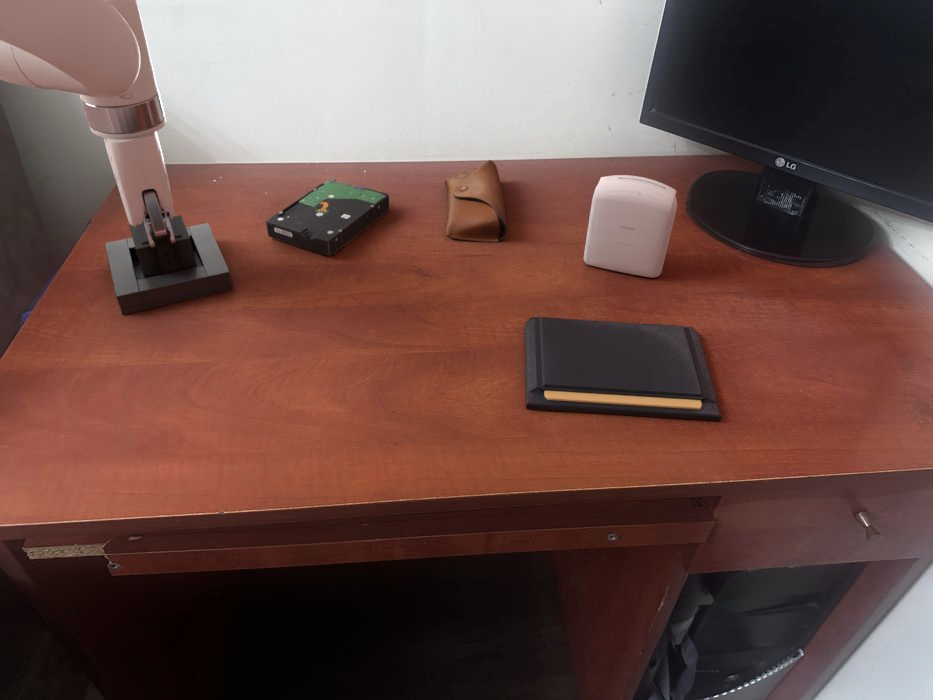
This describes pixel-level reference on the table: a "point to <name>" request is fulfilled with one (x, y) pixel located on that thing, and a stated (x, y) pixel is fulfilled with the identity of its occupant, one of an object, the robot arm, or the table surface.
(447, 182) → the sunglasses case
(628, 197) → the photo printer
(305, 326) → the table surface
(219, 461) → the table surface
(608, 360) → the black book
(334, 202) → the disk drive
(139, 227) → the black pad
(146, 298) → the docking pad
